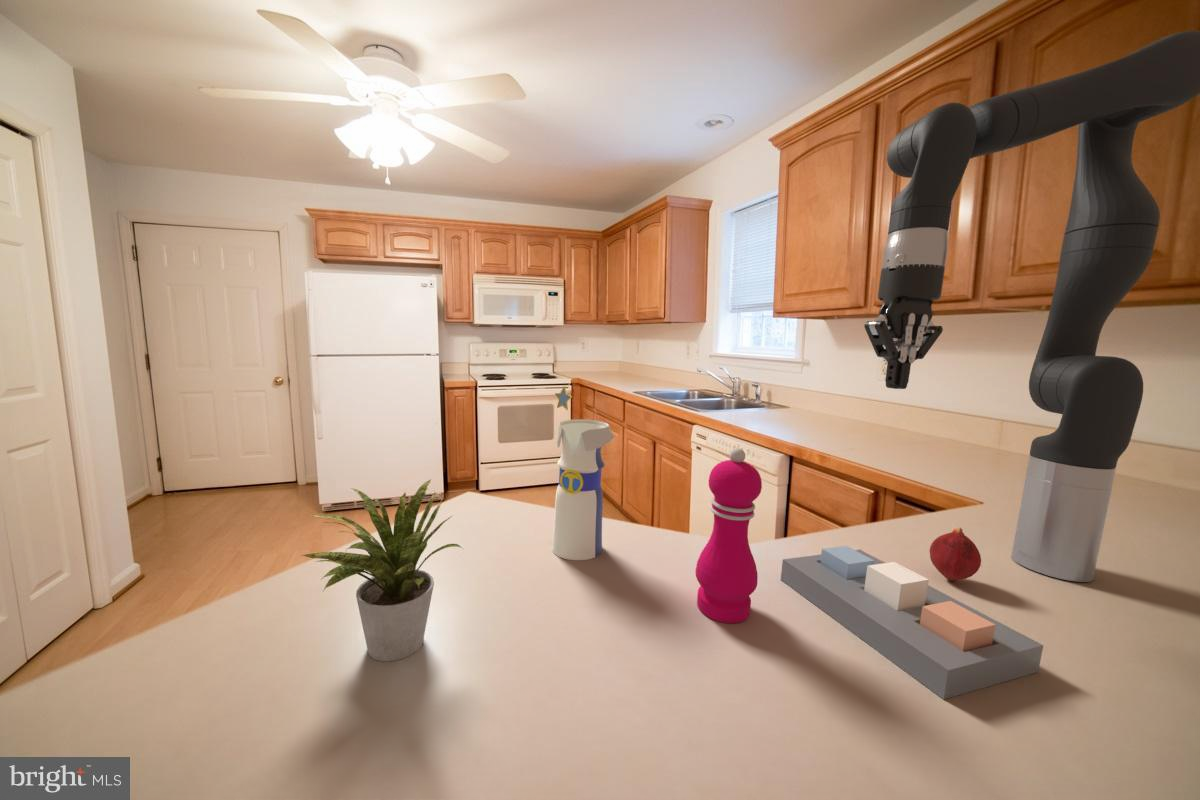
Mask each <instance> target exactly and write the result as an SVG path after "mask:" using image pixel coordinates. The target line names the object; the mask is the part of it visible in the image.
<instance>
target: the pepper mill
mask: <svg viewBox="0 0 1200 800" xmlns="http://www.w3.org/2000/svg"><path fill="white" fill-rule="evenodd" d="M729 458H730V459H728V460H726V459H725V460H723V461H720V462H719V463H717V464H715V466H713V468H712V469H711V471H710V473H709V477H708V488H709V489H710V492H711V493H712V494H713V497H712V498H711V500H710V502H711V506H710V508H709V509H710V511H711V512H712V513H713V528H712V532H711V535H710V538H709V540H708V542H707V543H706V544H705V546H704V547H703V549H702V551H701V552H700V555H699V557H698V559H697V562H696V566H695V578H696V581H697V582H698V583H699V585H700V586H699V588H698V589H697V597H696V604H697V607H698V609H699V610H700V612H701V613H702V614H704V615H705V616H706V617H708V618H710V619H712V620H714V621H717V622H722V623H726V624H738V623H742V622H744V621H746V620H747V619H749V617H750V614H751V607H752V606H751V605H752V600H751V597H750V596H751V595H752V594H753V593H754V592H755V590H756V588H757V587H758V577H759V576H758V575H759V574H758V570H757V565H756V561H755V559H754V555H753V553H752V551H751V546H750V543H749V536H748V535H749V525H750V524H749V523H750V520H752V519H753V518H754V517H755V509H756V505H755V503H754V501H755V500H756V499H758V497H759V496H760V495H761V493H762V489H763V483H762V478H761V474H760V472H759V471H758V469H757V468H756V467H754V466H753V464H750V463H748V462H745V460H746V453H745V451H744V450H743V449H742V448H740V447H735V448H732V449H731V450H730V452H729Z"/></svg>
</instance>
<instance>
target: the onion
mask: <svg viewBox="0 0 1200 800" xmlns="http://www.w3.org/2000/svg"><path fill="white" fill-rule="evenodd" d="M929 547H930V548H929V557H930V558H929V559H930V561H931V563H932V565H933V567H934V568H935V569H936V570H937V571H938V572H939V573H940V575H942V576H943V577H944V578H945V579H946V580H947V581H950V582H956V581H959V580H966V579H969V578H971V577H972V576H974V575H975V574H976V573H977V572H979V569H980V568H981V566H982V565H981V564H982V557H981V553H980V551H979V549H978V547H977V546H976V544H975V542H973V540H972V539H970V538H969V537H968V536H966V534H965V533H964V532H963V529H962V527H960V526H956V527H955V526H954V528H953V531H951V532H947V533H944V534H942V535H939V536H938V537H936V538H935V539H934V540H933V541H932V543H931V544H930V546H929Z"/></svg>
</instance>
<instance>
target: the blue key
mask: <svg viewBox="0 0 1200 800" xmlns="http://www.w3.org/2000/svg"><path fill="white" fill-rule="evenodd" d="M855 550H856V549H853V548H851V547H849V546H848V545H842V546H836V547H835V546H834V547H827V548H821V552H820V555H821V560H820V564H822V565H823V566H825V567H827V568H828V569H830V570H832V571H833V572H835V573H837V574H838V575H840V576H841V577H843V578H845V579H846V580H850V579H856V578H863V577H866V572H867V566H869V565H874V560H872V559H871V558H869V557H867V556H865V555H863V554H861V553H859V552H857V551H855Z"/></svg>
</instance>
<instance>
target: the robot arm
mask: <svg viewBox="0 0 1200 800" xmlns="http://www.w3.org/2000/svg"><path fill="white" fill-rule="evenodd" d="M1199 95H1200V30H1198V31H1197V30H1184V31H1183V30H1182V31H1178V32H1176V33H1172V34H1170V35H1167V36H1164V37H1161V38H1159V39H1157V40H1155V41H1153V42H1150V43H1149V44H1147V45H1145V46H1142V47H1140V48H1139V49H1137V50H1135V51H1134V52H1131V53H1129V54H1127V55H1126V56H1123V57H1120V58H1117V59H1115V60H1112V61H1110V62H1107V63H1104V64H1102V65H1099V66H1096V67H1093V68H1090V69H1087V70H1082V71H1079V72H1077V73H1073V74H1070V75H1068V76H1064V77H1061V78H1060V77H1059V78H1057V79H1053V80H1050V81H1047V82H1046V81H1045V82H1043V83H1039V84H1036V85H1035V84H1034V85H1031V86H1029V87H1024V88H1020V89H1018V90H1013V91H1010V92H1006V93H1002V94H999V95H995V96H991V97H988V98H986V99H984V100H981V101H979V102H976V103H975V104H973V105H971V106H970V107H968V106H967V105H965V104H963V103H961V102H948V103H944V104H942V105H940V106H938V107H936V108H934V109H932V110H931V111H929V112H928V113H926V114H925V115H923V116H922V117H920V118H919V119H917V120H915V121H914V122H912V123H911V124H909V125H908V126H906V127H905V128H903V129H902V130H901V131H900V132H899V133H897V134H896V136H895V137H894V138H893V139H892V141H891V142H890V144H889V146H888V148H887V149H888V150H887V153H886V160H887V161H886V162H887V165H888V167H889V169H890V170H891V171H892V172H893V173H894V175H895V174H896V175H897V176H900V177H901V178H902V177H903V178H907V179H910V180H909V182H908V184H907V185H906V186H905V187H904V188H903V189H901V190H900V192H899V193H897V194H896V196H895V197H894V199H893V200H892V204H891V208H890V214H889V215H890V216H889V222H888V230H887V231H888V233H887V235H886V242H885V246H884V248H883V254H882V261H881V268H880V276H879V285H878V291H877V299H878V300H879V301H880V302H882V304H881V307H880V308H879V311H878V316H877V317H875V319H874V320H869V321H866V322H865V323H864V325H863V326H864V330H865V332H866V334H867V336H868V339H869V341H870V343H871V346H872V348H873V350H874V352H875V354H876V356H877V357H878V358H882V359H884V361H886V364H887V365H886V372H885V373H886V374H885V387H886V388H887V389H895V390H906V389H907V387H908V384H909V380H910V374H911V366H912V364H913V363H914V362H915V361H916V360H922V359H924V358H925V357H926V355H927V354H928V352H929V351H930V350H931V348H932V347H933V345H934V344H935V342H936V341H937V340H938V338H939V337H940V336H941V334H942V332H943V330H944V329H943V325H935V324H934V323H933V321H932V318H933V316H934V315H933V311H932V310H933V309H932V308H933V307H932V304H933V303H934V302H937V301H938V300H940V299H941V297H942V291H943V286H944V285H943V284H944V279H945V269H946V264H947V257H948V250H949V236H948V235H949V229H950V228H949V227H950V221H951V215H952V206H953V199H954V197H955V195H956V193H957V190H958V188H959V186H960V184H961V182H962V179H963V177H964V174H965V171H966V170H967V166H968V165H969V162H970V159H974V158H977V157H981V156H986V155H987V156H988V155H990V154H995V153H998V152H1002V151H1006V150H1009V149H1013V148H1016V147H1020V146H1023V145H1026V144H1029V143H1032V142H1036V141H1038V140H1042V139H1043V138H1046V137H1049V136H1051V135H1054V134H1057V133H1059V132H1062V131H1064V130H1068V129H1070V128H1072V127H1075V126H1078V136H1077V151H1076V153H1077V154H1076V167H1075V175H1074V181H1073V189H1072V193H1071V195H1072V196H1071V201H1070V207H1069V213H1068V217H1067V222H1066V226H1065V230H1064V233H1063V239H1062V245H1061V250H1060V253H1059V254H1060V255H1059V263H1058V269H1057V274H1056V275H1057V276H1056V280H1055V284H1054V285H1055V286H1054V290H1053V294H1052V299H1051V303H1050V307H1049V312H1048V315H1047V316H1048V317H1047V320H1046V325H1045V328H1044V331H1043V334H1042V337H1041V340H1040V344H1039V346H1038V349H1037V352H1036V356H1035V359H1034V360H1033V364H1032V366H1031V367H1032V368H1031V370H1030V371H1031V372H1030V374H1029V378H1028V379H1029V380H1028V391H1029V396H1030V398H1031V400H1032V402H1033V403H1034V405H1036V406H1037V407H1039V408H1040V409H1041V410H1044V411H1046V412H1049V413H1053V414H1057V415H1058V414H1060V415H1061V419H1060V421H1059V425H1058V427H1057V429H1056V430H1054V431H1053V432H1052V433H1050V434H1047V435H1040V436H1037V437H1034V439H1033V440H1032V441H1031V445H1030V450H1029V455H1028V461H1027V467H1026V470H1025V471H1026V472H1025V478H1024V483H1023V490H1022V494H1021V495H1022V496H1021V501H1020V506H1019V507H1020V508H1019V512H1018V517H1017V523H1016V529H1015V534H1014V541H1013V545H1012V550H1011V554H1010V555H1011V559H1012V560H1013V561H1014V562H1015V563H1017V564H1018V565H1021V566H1023V567H1025V568H1027V569H1029V570H1031V571H1034V572H1036V573H1039V574H1042V575H1045V576H1049V577H1052V578H1056V579H1060V580H1065V581H1070V582H1077V583H1089V582H1092V581H1093V580H1094V577H1095V576H1094V575H1095V572H1096V568H1097V562H1098V557H1099V553H1100V547H1101V543H1102V538H1103V533H1104V528H1105V525H1106V519H1107V515H1108V509H1109V504H1110V499H1111V494H1112V491H1113V490H1112V488H1113V484H1114V478H1115V474H1116V469H1117V465H1118V461H1119V459H1120V457H1121V456H1122V455H1123V454H1124V452H1126V450H1127V448H1128V447H1129V444H1130V442H1131V439H1132V435H1133V432H1134V430H1135V427H1136V426H1135V425H1136V423H1137V418H1138V415H1139V412H1140V409H1141V404H1142V401H1143V395H1144V379H1143V375H1142V373H1141V371H1140V370H1139V368H1138V366H1137V365H1136V364H1134V363H1133V362H1131V361H1129V360H1127V359H1125V358H1122V357H1117V356H1108V355H1096V353H1097V349H1098V343H1099V340H1100V336H1101V332H1102V329H1103V327H1104V326H1105V325H1104V324H1105V323H1106V321H1107V320H1108V318H1109V316H1110V315H1111V313H1112V312H1113V311H1114V309H1116V307H1117V306H1118V305H1119V304H1120V302H1121V301H1122V300H1124V298H1125V297H1126V295H1127V294H1129V292H1130V291H1131V290H1132V289H1133V288H1134V286H1135V285H1136V284H1137V283H1138V281H1139V280H1140V278H1141V277H1142V276H1143V274H1145V271H1146V270H1147V268H1148V266H1149V265H1150V262H1151V260H1152V257H1153V253H1154V248H1155V244H1156V240H1157V234H1158V231H1159V230H1158V229H1159V225H1160V221H1161V220H1160V219H1161V212H1160V208H1159V205H1158V203H1157V202H1156V199H1155V198H1154V196H1153V195H1152V193H1151V191H1149V189H1148V188H1147V186H1146V185H1145V184H1144V182H1143V181H1142V180H1141V179H1140V177H1139V176H1138V174H1137V172H1136V171H1135V168H1134V166H1133V162H1132V161H1133V159H1132V158H1133V157H1132V153H1133V147H1134V146H1133V143H1134V139H1135V133H1136V130H1137V127H1138V125H1139V123H1142V122H1143V121H1146V120H1149V119H1152V118H1154V117H1157V116H1159V115H1162V114H1165V113H1167V112H1169V111H1171V110H1173V109H1176V108H1178V107H1181V106H1183V105H1184V104H1186V103H1188V102H1189V101H1192V100H1193V99H1195V98H1197V96H1199Z"/></svg>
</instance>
